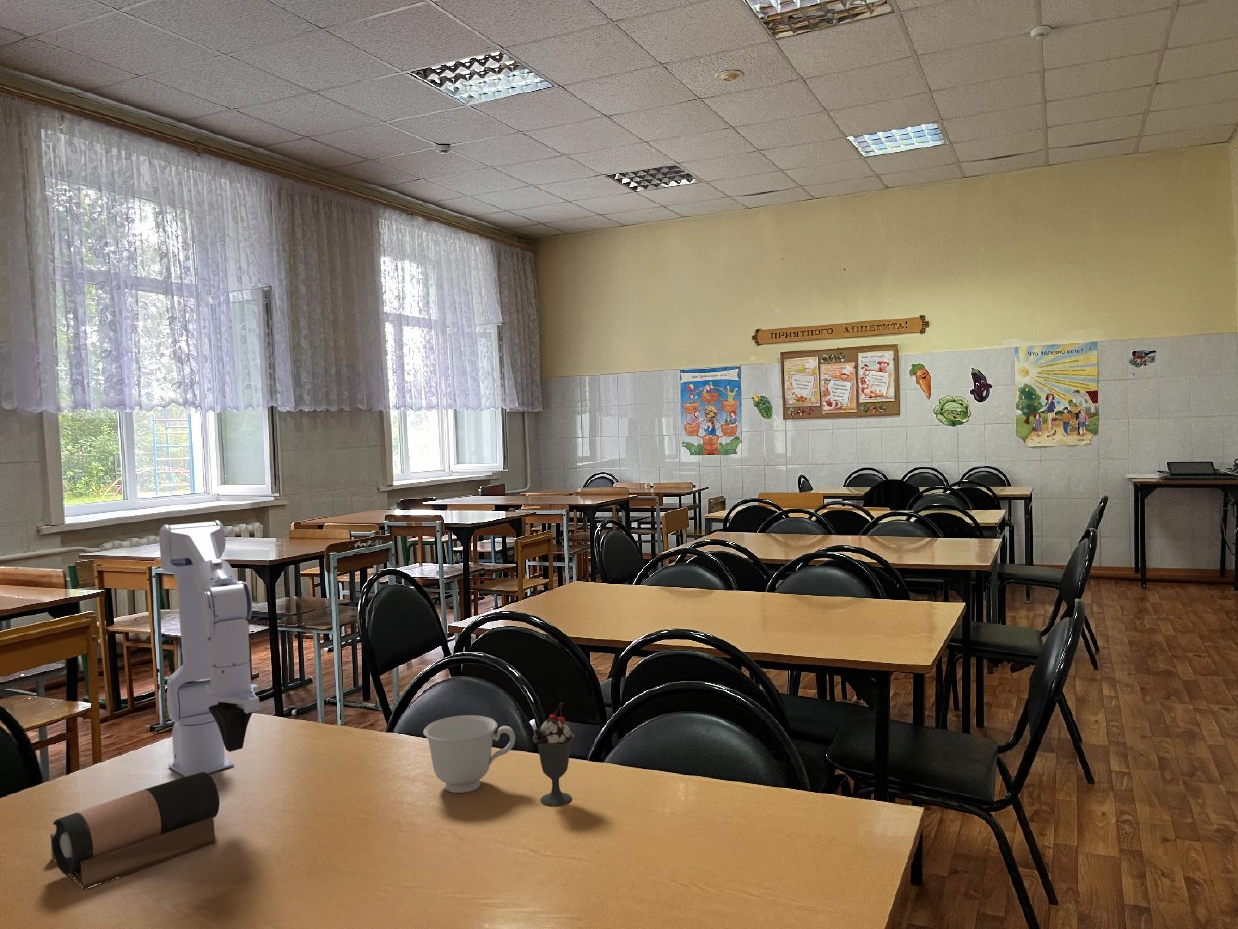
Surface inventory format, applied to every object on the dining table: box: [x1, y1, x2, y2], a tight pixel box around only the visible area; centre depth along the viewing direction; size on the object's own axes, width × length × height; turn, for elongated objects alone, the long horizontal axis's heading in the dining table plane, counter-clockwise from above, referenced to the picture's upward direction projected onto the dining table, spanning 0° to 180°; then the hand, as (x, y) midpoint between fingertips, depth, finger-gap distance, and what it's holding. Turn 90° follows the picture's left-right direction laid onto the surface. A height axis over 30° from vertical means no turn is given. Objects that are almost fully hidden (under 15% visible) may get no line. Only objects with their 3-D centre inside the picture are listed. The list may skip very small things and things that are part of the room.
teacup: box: [422, 714, 516, 794], centre depth 148 cm, size 12×15×10 cm
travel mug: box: [52, 772, 220, 876], centre depth 128 cm, size 8×8×20 cm
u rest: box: [50, 818, 216, 890], centre depth 129 cm, size 14×17×4 cm
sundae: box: [532, 702, 576, 807], centre depth 142 cm, size 7×7×15 cm
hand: (234, 749), depth 140 cm, fingers closed
